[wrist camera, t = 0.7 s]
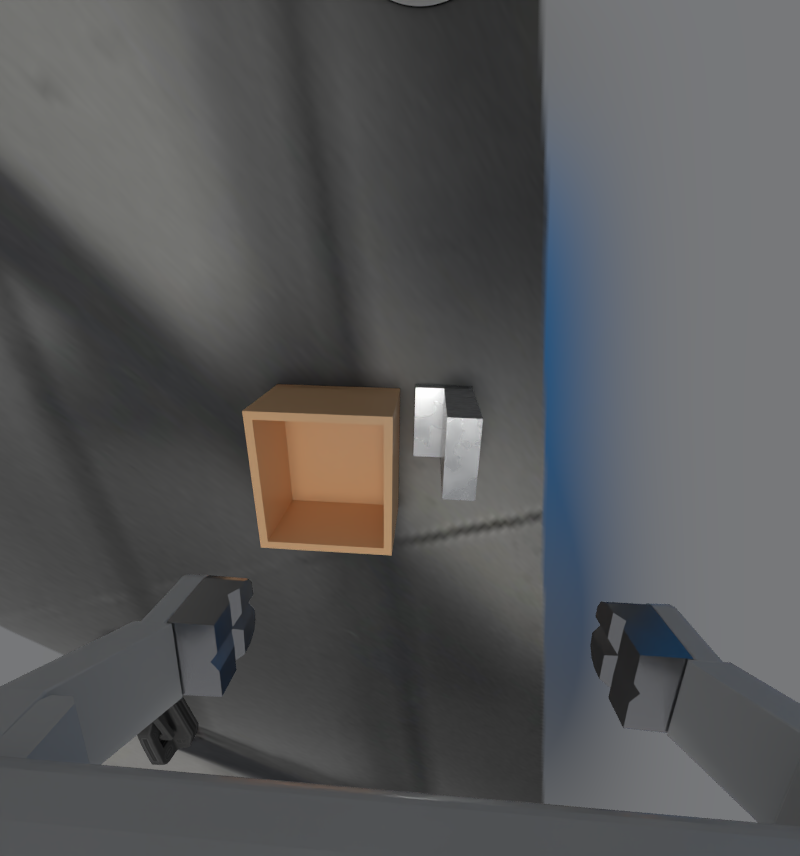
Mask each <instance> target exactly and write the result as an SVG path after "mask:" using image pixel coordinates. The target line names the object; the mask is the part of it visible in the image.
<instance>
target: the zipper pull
mask: <svg viewBox="0 0 800 856" xmlns="http://www.w3.org/2000/svg"><path fill="white" fill-rule="evenodd" d="M197 728H198V722H197V720H196V718H195V717H194V715H193V713H192V712H191V710H190V708H189V707H188V705H187V703H186V701H185V700H184V698H183V697H182V698H181V699H180V700H179V701H177V702H176V703H175V704H174V705H173V706H171V707H170V708H169V709H168V710H167V711H165V712H164V713H163V714H162V715H160V716H159V717H158V718H157V719H156V720H154V721H153V722H152V723H151V724H150V725H148V726H147V727H146V728H145V729H143V730H142V731H141V732H140V733H139V734H137V736H138V738H139V741H140V743H141V745H142V747H143V749H144V751H145V753H146V755H147V756H148V758H149V760H150V762H151V763H152V764H156V765H164V764H167V763H168V762H169V761H170V760H171V758H172V757H173V755H174V754H175V752H176V751H177V750H178V749H181V748H185V747H189V746H190V745H191V743H192V741H193V739H194V737H195V735H196V733H197Z"/></svg>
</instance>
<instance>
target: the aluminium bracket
mask: <svg viewBox="0 0 800 856" xmlns="http://www.w3.org/2000/svg"><path fill="white" fill-rule="evenodd" d="M482 424H483V417H482V414H481V412H480V409H479V406H478V403H477V400H476V397H475V394H474V391H473V388H472V386H448V385H419V384H416V389H415V422H414V454H413V456H425V457H440V464H441V486H442V499H451V500H470V501H475V496H476V485H477V475H478V465H479V455H480V444H481V434H482Z"/></svg>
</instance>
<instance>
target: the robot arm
mask: <svg viewBox="0 0 800 856" xmlns="http://www.w3.org/2000/svg"><path fill="white" fill-rule="evenodd" d="M392 1H394V2H397V3H400V4H404V5H409V6H429V5H435V4H439V3H442V2H445V1H448V0H392ZM253 594H254V593H253V585H252V581H251V580H249V579H246V578H234V577H223V576H211V575H209V576H207V575H196V574H188V575H185V576H183V577H182V578H181V579H180V580H179V581H178V582H177V583H176V584H175V586H174V587H173V588H172V589H171V590H170V591H169V592H168V593H167V594H166V595H165V596H164V597H163V598H162V599H161V601H160V602H159V603H158V604H157V605H156V606H155V607H154V608H153V609H152V610H151V611H150V612H149V613H148V614H147V616H146V617H145V618H144V619H143V620H142V621H133V622H131V623H129V624H127V625H125V626H123V627H121V628H119V629H117V630H115V631H113V632H111V633H109V634H107V635H105V636H103V637H101V638H99V639H97V640H95V641H92V642H90V643H88V644H86V645H84V646H82V647H80V648H78V649H76V650H74V651H72V652H70V653H68V654H66V655H64V656H62V657H60V658H58V659H56V660H54V661H52V662H50V663H48V664H45V665H44V666H42V667H39V668H37V669H35V670H33V671H31V672H29V673H27V674H25V675H23V676H21V677H19V678H17V679H15V680H13V681H11V682H9V683H7V684H4V685H3V686H0V856H800V703H798V702H796V701H794V700H793V699H791V698H789V697H788V696H786V695H784V694H783V693H781V692H779V691H778V690H776V689H774V688H773V687H771V686H769V685H767V684H766V683H764V682H762V681H761V680H759V679H757V678H756V677H754V676H752V675H750V674H749V673H747V672H746V671H744V670H742V669H741V668H739V667H737V666H735V665H734V664H732V663H728V662H722V660H721V659H720V658H719V657H718V656H717V655H716V654H715V652H714V651H713V650H712V649H711V648H710V647H709V645H707V643H706V642H705V641H704V640H703V639H702V638H701V636H700V635H699V634H698V633H697V632H696V630H695V629H694V628H693V627H692V626H691V625H690V624H689V622H688V621H687V620H686V619H685V618H684V617H683V616H682V614H681V613H680V612H679V611H678V610H677V609H676V608H675V607H673V606H672V605H670V604H649V603H647V604H633V603H618V602H600V604H599V605H598V607H597V612H596V618H597V620H598V622H599V623H600V626H599V627H598V628H597V629H596V630H595V631H594V632H593V633H592V639H591V656H592V661H593V664H594V668H595V670H596V673H597V675H598V677H599V679H600V680H601V681H603V682H604V683H605V684H606V685H607V686H609V687H610V693H609V700H610V702H611V704H612V706H613V708H614V710H615V712H616V714H617V716H618V718H619V720H620V722H621V724H622V726H623V728H627V729H636V730H646V731H655V732H663V733H667V736H668V737H670V738H671V739H672V740H673V741H674V742H675V743H676V744H677V745H678V746H679V747H680V748H681V749H682V750H683V751H684V752H686V754H687V755H688V756H689V757H690V758H691V759H693V760H694V761H695V762H696V763H697V764H698V765H699V766H700V767H701V768H702V769H703V770H704V771H705V772H706V773H707V774H708V775H709V776H710V777H711V778H712V779H713V780H714V781H716V783H718V785H720V786H721V787H722V788H723V789H724V790H725V791H726V792H727V793H728V794H729V795H730V796H731V797H732V798H733V799H734V800H735V801H736V802H737V803H738V804H739V805H740V806H741V807H743V809H745V810H746V811H747V812H748V813H749V814H750V815H751V816H752V817H753V818H754V819H755V820H756V821H757V822H758V823H755V822H743V821H732V820H721V819H710V818H698V817H687V816H676V815H675V816H674V815H664V814H653V813H642V812H630V811H619V810H608V809H596V808H585V807H573V806H562V805H550V804H540V803H528V802H517V801H506V800H494V799H483V798H472V797H460V796H449V795H438V794H426V793H415V792H403V791H392V790H381V789H369V788H358V787H347V786H335V785H324V784H312V783H301V782H290V781H278V780H267V779H256V778H244V777H233V776H221V775H210V774H199V773H187V772H176V771H164V770H153V769H142V768H130V767H119V766H108V765H101V764H102V763H103V762H105V761H106V760H107V759H108V758H109V757H111V756H112V755H113V754H114V753H115V752H117V751H118V750H119V749H120V748H122V747H123V746H124V745H125V744H126V743H128V742H129V741H130V740H131V739H132V738H134V737H135V736H136V735H137V734H139V733H140V732H141V731H142V730H143V729H145V728H146V727H147V726H148V725H150V724H151V723H152V722H153V721H154V720H156V719H157V718H158V717H159V716H160V715H162V714H163V713H164V712H165V711H167V710H168V709H169V708H170V707H171V706H173V705H174V704H175V703H176V702H177V701H179V700H180V699H181V698H182V697H183V696H182V695H196V696H217V697H222V696H223V694H224V692H225V691H226V689H227V687H228V685H229V683H230V681H231V679H232V677H233V676H234V674H235V672H236V670H237V669H236V659H238V658H239V657H241V656H242V655H244V654H245V653H246V651H247V649H248V647H249V645H250V643H251V640H252V636H253V633H254V629H255V609H254V608H253V607H252V606H251V605H250V603H249V601H250V599H251V597H252V596H253Z"/></svg>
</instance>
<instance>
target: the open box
mask: <svg viewBox="0 0 800 856" xmlns="http://www.w3.org/2000/svg"><path fill="white" fill-rule="evenodd" d="M242 413H243V420H244V427H245V435H246V442H247V449H248V456H249V464H250V471H251V478H252V485H253V493H254V500H255V507H256V514H257V522H258V529H259V536H260V543H261V548H278V549H294V550H311V551H328V552H344V553H361V554H378V555H392V549H393V541H394V534H395V527H396V520H397V512H398V492H399V429H400V388H373V387H344V386H315V385H286V384H277V385H276V386H275V387H273V388H272V389H271V390H269V391H268V392H267V393H265V394H264V395H263V396H261V397H260V398H259V399H257V400H256V401H255V402H254V403H252V404H251V405H250V406H248V407H247V408H246V409H244V410H243V411H242Z"/></svg>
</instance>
